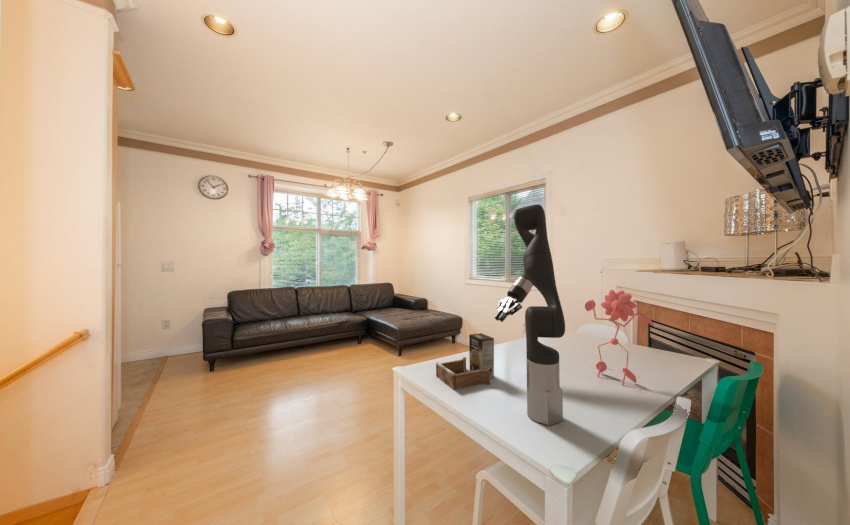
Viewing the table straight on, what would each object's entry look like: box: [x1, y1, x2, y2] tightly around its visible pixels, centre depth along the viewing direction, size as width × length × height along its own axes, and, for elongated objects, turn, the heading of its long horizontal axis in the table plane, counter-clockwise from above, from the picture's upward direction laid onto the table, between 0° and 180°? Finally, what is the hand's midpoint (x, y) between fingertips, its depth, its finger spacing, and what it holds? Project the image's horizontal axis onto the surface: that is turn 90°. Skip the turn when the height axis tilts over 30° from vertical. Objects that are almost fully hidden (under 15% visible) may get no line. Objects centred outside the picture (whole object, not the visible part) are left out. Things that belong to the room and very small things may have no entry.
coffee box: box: [468, 332, 495, 379], centre depth 122 cm, size 9×6×16 cm
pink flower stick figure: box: [584, 289, 655, 392], centre depth 117 cm, size 15×26×35 cm, turn 30°
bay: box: [435, 356, 491, 390], centre depth 118 cm, size 18×15×6 cm
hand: (498, 319), depth 125 cm, fingers closed
